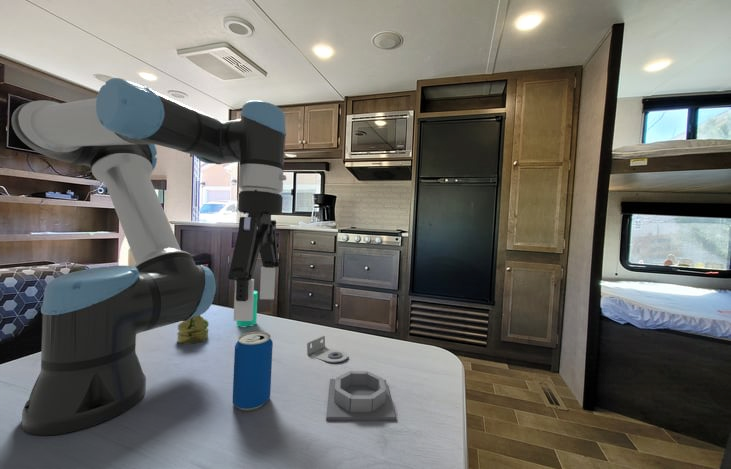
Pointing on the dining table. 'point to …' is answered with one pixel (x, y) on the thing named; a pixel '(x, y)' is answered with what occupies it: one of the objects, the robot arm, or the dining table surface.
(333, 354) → the bracket
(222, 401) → the dining table surface
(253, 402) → the beverage can
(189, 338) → the yellow knotted piece
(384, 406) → the cup holder
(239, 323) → the candle
